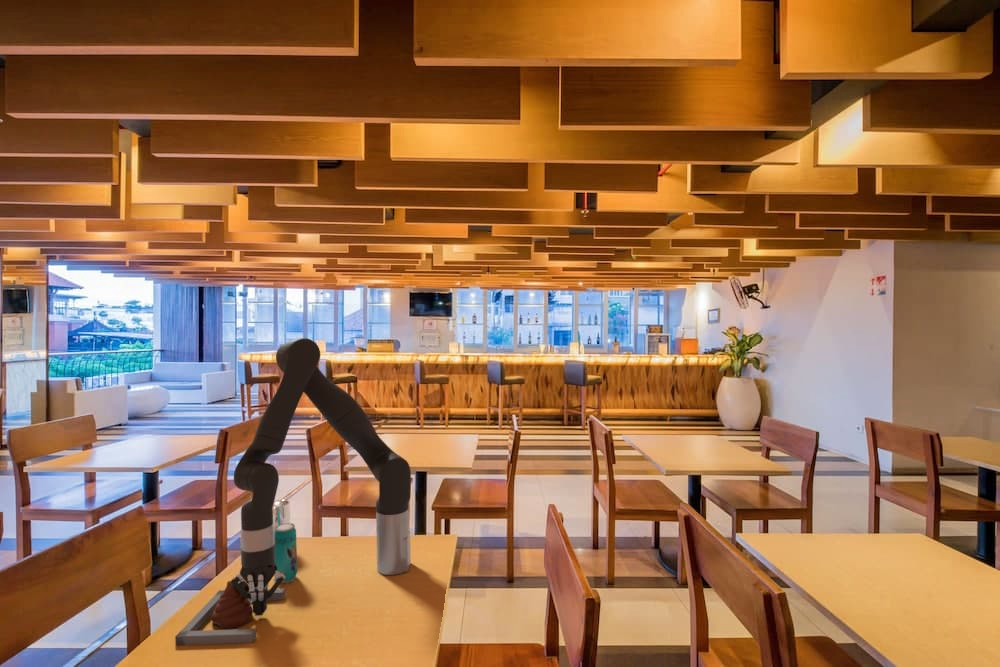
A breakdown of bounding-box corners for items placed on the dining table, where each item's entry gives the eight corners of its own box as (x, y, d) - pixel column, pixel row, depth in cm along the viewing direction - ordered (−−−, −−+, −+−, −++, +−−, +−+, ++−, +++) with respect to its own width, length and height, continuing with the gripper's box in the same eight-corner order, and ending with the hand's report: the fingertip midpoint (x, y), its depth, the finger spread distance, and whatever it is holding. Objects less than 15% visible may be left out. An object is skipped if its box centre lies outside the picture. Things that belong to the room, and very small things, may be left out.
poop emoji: (203, 622, 128) (202, 584, 128) (236, 605, 135) (235, 569, 135) (228, 634, 123) (227, 595, 123) (261, 616, 130) (260, 579, 130)
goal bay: (285, 596, 140) (285, 588, 139) (252, 642, 120) (252, 634, 120) (219, 598, 139) (219, 590, 139) (175, 645, 119) (175, 636, 119)
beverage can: (289, 585, 145) (288, 531, 145) (270, 583, 146) (269, 529, 146) (301, 575, 151) (300, 523, 150) (283, 573, 152) (281, 521, 151)
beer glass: (296, 548, 169) (295, 501, 168) (278, 557, 162) (277, 508, 162) (280, 544, 172) (278, 498, 171) (262, 553, 165) (261, 505, 165)
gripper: (291, 536, 133) (292, 604, 133) (237, 538, 132) (239, 606, 133) (279, 549, 125) (281, 621, 126) (222, 551, 125) (224, 623, 125)
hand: (259, 613), depth 129 cm, fingers closed
